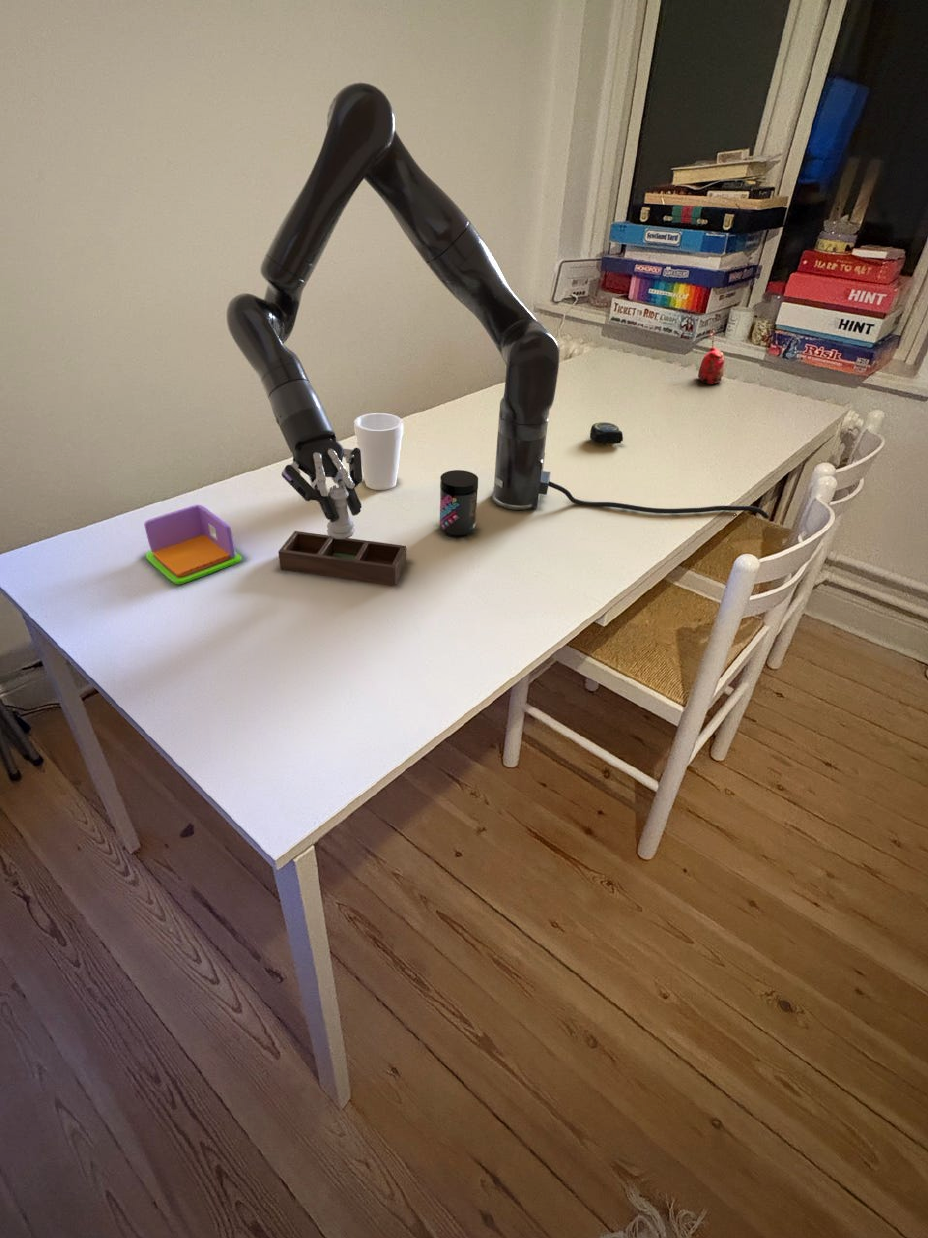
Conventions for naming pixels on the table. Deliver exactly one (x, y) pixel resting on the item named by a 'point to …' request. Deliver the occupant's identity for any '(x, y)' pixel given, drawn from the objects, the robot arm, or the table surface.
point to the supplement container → (458, 503)
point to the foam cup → (379, 448)
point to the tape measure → (605, 433)
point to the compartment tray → (343, 558)
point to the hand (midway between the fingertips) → (346, 516)
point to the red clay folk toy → (712, 365)
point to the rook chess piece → (340, 514)
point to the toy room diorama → (190, 544)
